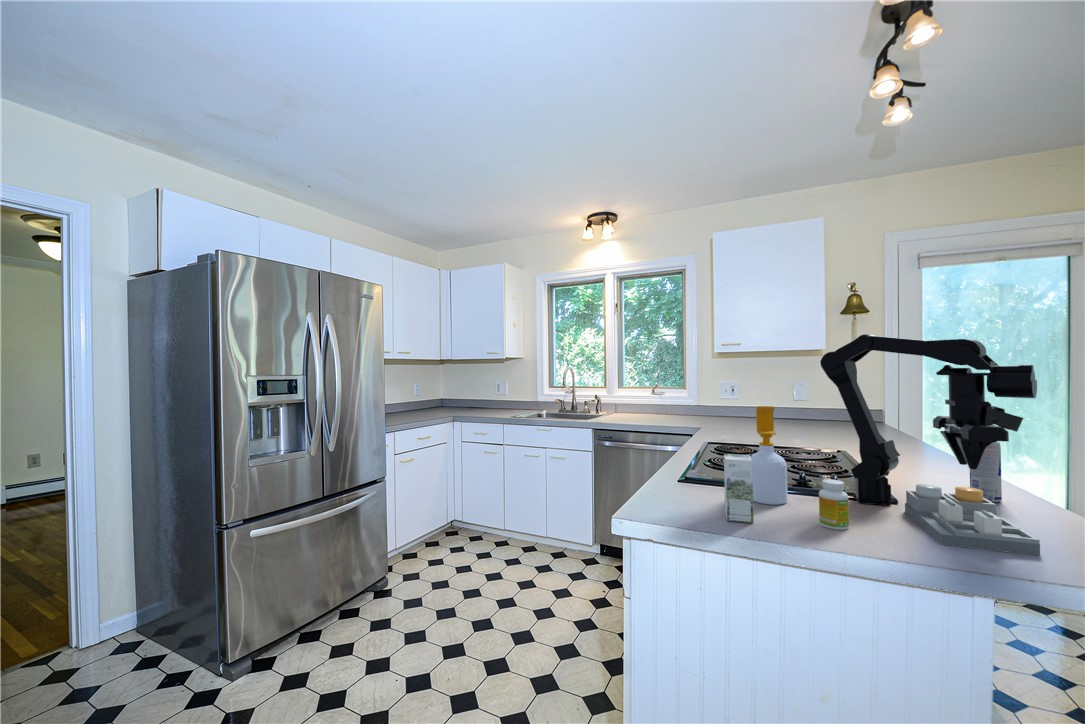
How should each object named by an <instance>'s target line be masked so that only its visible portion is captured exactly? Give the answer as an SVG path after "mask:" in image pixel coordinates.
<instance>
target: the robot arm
mask: <svg viewBox="0 0 1085 724" xmlns="http://www.w3.org/2000/svg"><path fill="white" fill-rule="evenodd" d="M871 351H876V352H886V353H894V354H904V355H911V356H912V355H913V356H922V357H927V358H931V359H935V360H938V361H941V362H944V363H948V364H945V365H943V367H942V368H941V369H939V370H937V371H936V375H937V376H948V377H947V378H948V398H947V399H944V402H945V403H944V404H945V405H948V411H949V412H948V414H949V415H937V416H936V417H934V418H933V419H932V427H933V428H935V429H937V430H940V431H939V433H940V434H941V435H942V437H943V438H944V440H945V442H946V443H947V444H948V446H949V448H950V450H951V451H952V453H953V455H954V456H955V458H956V460H957V462H958V463H959V465H962V466H964V465H965V466H966V465H967V466H968V468H969V470H970V469H977V467H978V465H979V462H980V460H981V457H982V455H983V452H984V450H985V448H986V447H987V446H988V445H990V444H992V443H995V442H997V441H999V442H1010V441H1009V439H1010V438H1009V437H1010V436H1009V434H1010V433H1009V431H1013V432H1018V431H1019V428H1020V427H1021V425H1022V422H1023V420H1024V417H1022V416H1017V415H1014V414H1011V413H1007V412H1006V411H1005V408H1002V407H999V406H995V405H992V404H991V402H990V401H987V400H986V397H985V393H986V392H985V391H986V390H985V377H986V389H987V392H988V393H992V394H994V397H995V398H1016V399H1019V398H1020V399H1036V397H1037V392H1038V380H1037V379H1036V374H1035V371H1034V369H1035V368H1034V365H1033V364H1021V365H999V364H998V363H997V362H996V361H994V359H993V358H991V357H990V356H989V355H988V354H987V348H986V347H985V345H984V344H983V343H982V342H981V341H979V340H977V339H973V338H956V339H952V338H951V339H939V340H926V339H916V338H915V339H913V338H901V337H890V336H879V335H874V334H866V333H865V334H862V335H859V336H858V337H857V338H855V339H853V340H852V341H850V342H849V343H847V344H845V345H843V346H841V347H840V348H837V349H836V350H835V351H829V352H826V353H824V355H823V356H822V357H821V359H820V361H819V362H820V367H821V369H822V370H823V372H824V373H825V375H826V377H827V378H828V379H829V380H830V381H831V382H832V383H833V384H834V385H835V386H836V387H837V390H838V392H839V395H840V397H841V398H842V401H843V404H844V406H845V408H846V410H847V413H848V415H849V416H848V417H849V418H850V420H851V422H852V424H853V426H854V430H855V432H856V435H857V436H858V439H859V445H858V446H859V447H858V448H859V450H858V451H859V455H860V461H861V462H859V463H858V464H857V465H855V466H854V467H852V468H851V470H850V471H851V474H852V477H853V478H854V482H855V483H854V486H855V487H854V488H855V489H854V490H855V491H854V494H855V495H856V498H855V499H856V501H857V502H858V503H860V504H868V505H880V506H892V503H891V502H892V486H891V484H890V483H889V478H887V476H889V475H890V473H891V471H892V470H895V469H896V468H897V467H898V465H899V463H900V459H899V457H900V456H901V453H899V452H898V450H897V448H896V445H895V442H894V440H893V439H890V440H887V439H885V437H883V436H882V435H881V433H880V431H879V429H878V427H877V424H876V423H875V420H874V418H873V416H872V413H871V410H870V408H869V406H868V404H867V401H866V399H865V397H864V395H863V392H862V390H861V388H860V386H859V383H858V369H857V365H856V363H857V362H859V361H860V360H862V359H863V358H864V357H865V356H867V355H868V354H869V353H870V352H871ZM950 364H953V365H956V366H968V367H953V366H951V365H950ZM971 368H972V369H975V370H977V371H989V372H973V371H972V369H971ZM942 428H944V429H943V430H941V429H942ZM1008 430H1009V431H1008Z"/></svg>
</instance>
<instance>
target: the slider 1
mask: <svg viewBox="0 0 1085 724" xmlns="http://www.w3.org/2000/svg"><path fill="white" fill-rule="evenodd" d="M939 516H940V517H941V518H943V519H944V520H947V521H958V522H963V508H962V507H961V506H960V505H958V504H957V503H955V502H954V501H950V500H947V499H945V501H942V500H939Z"/></svg>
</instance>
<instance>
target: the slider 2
mask: <svg viewBox="0 0 1085 724" xmlns="http://www.w3.org/2000/svg"><path fill="white" fill-rule="evenodd" d="M1000 518H1001V517H999V516H997V515H996V516H995V515H994V514H992V513H991V512H986V511H985V510H981V512H980V511H974V529H975V530H977V531H978V532H980V533H985V534H995V535H1002V519H1000Z"/></svg>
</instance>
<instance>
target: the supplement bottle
mask: <svg viewBox="0 0 1085 724" xmlns="http://www.w3.org/2000/svg"><path fill="white" fill-rule="evenodd" d="M821 481H822V483H821V484H822V485H821V487H822V488H821V490H820V489H819V492H818V511H819V512H818V515H819V516H818V517H819V524H820V525H821V526H822V527H824V528H827V529H830V530H837V531H845V530H847V529H849V528H850V527H849V526H850V515H849V513H850V512H849V511H850V510H849V508H850V507H849V495H848V494H847V492H845V491H844V490H845V483H844V482H843V480H838V479H828V478H825V479H822V480H821Z"/></svg>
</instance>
